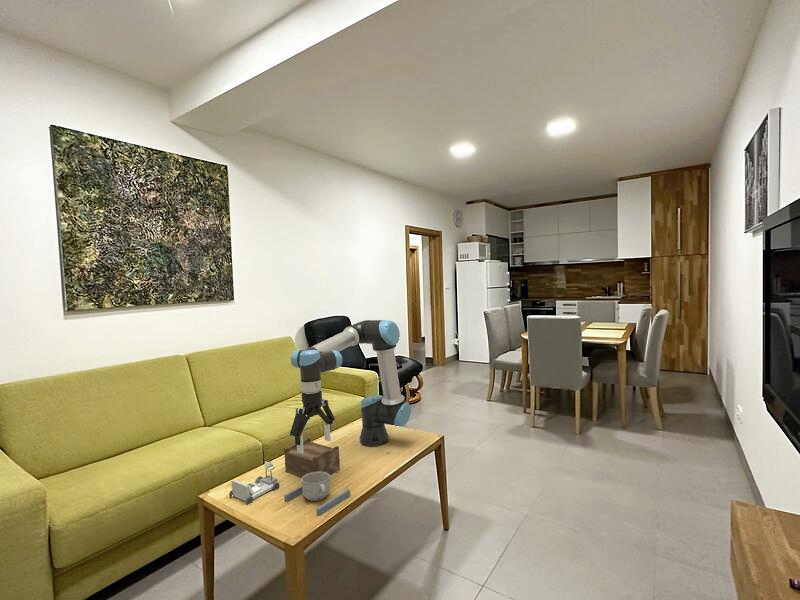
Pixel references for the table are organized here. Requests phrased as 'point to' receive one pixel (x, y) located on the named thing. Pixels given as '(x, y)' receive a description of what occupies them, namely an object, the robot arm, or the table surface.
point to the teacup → (315, 485)
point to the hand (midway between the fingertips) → (314, 446)
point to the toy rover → (255, 486)
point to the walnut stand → (311, 459)
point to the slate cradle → (325, 506)
